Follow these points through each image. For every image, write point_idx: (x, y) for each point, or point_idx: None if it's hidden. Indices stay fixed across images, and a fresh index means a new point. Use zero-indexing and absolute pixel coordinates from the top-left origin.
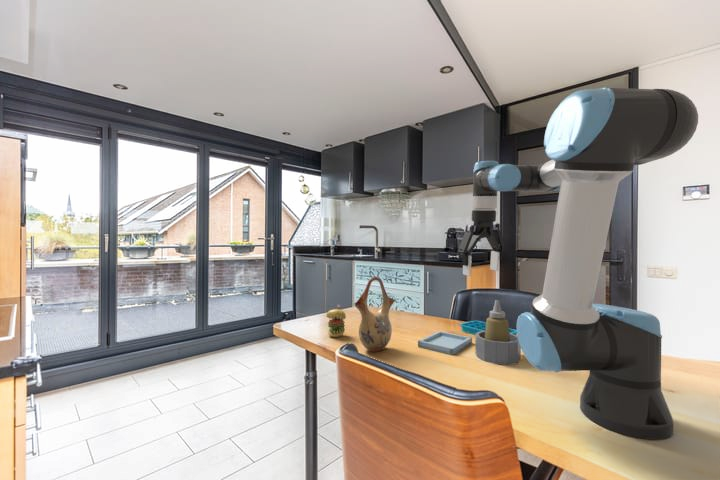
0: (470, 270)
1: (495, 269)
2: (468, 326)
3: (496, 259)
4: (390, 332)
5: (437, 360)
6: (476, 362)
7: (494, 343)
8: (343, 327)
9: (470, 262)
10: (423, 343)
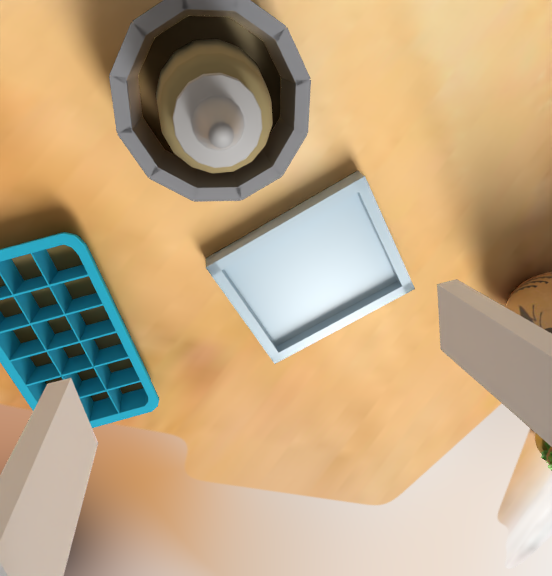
0: (472, 300)
1: (73, 397)
2: (138, 375)
3: (40, 472)
4: (542, 299)
5: (437, 144)
6: (330, 74)
7: (289, 34)
8: (543, 440)
9: (534, 336)
10: (405, 270)
